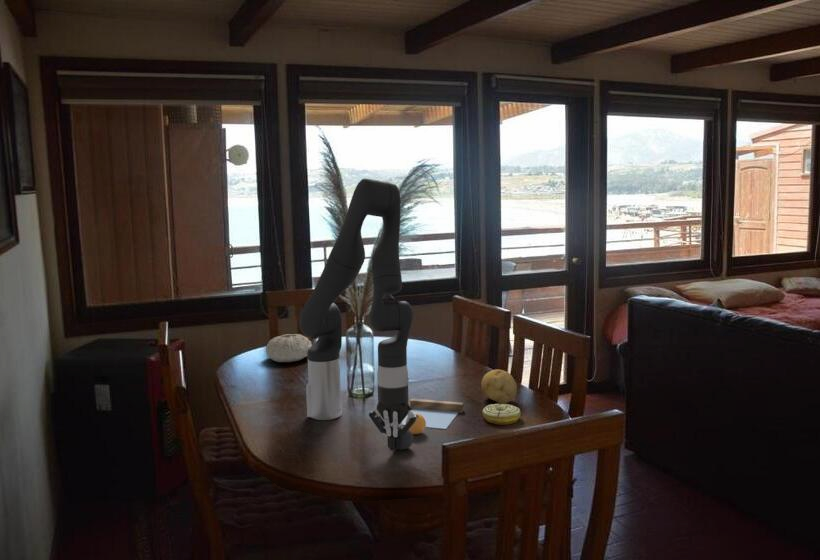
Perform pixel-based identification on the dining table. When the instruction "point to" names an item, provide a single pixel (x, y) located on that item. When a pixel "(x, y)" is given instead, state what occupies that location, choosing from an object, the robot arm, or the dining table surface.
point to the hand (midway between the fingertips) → (394, 449)
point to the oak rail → (437, 405)
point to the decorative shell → (288, 347)
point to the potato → (499, 386)
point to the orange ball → (418, 424)
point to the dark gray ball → (406, 440)
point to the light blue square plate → (435, 417)
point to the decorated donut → (501, 414)
